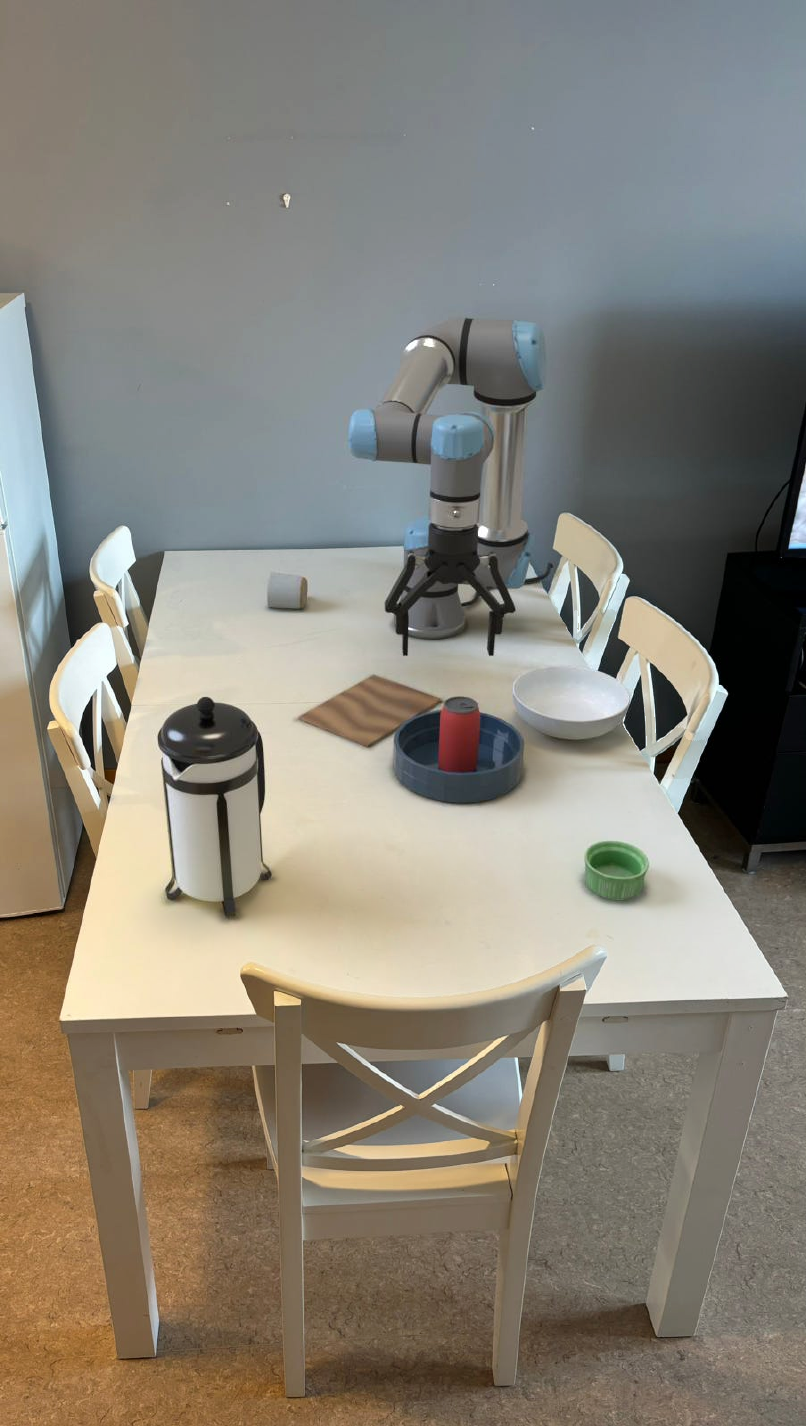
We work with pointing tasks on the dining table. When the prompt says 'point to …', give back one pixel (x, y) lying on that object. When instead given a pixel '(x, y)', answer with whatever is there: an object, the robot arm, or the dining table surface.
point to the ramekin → (615, 869)
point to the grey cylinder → (286, 591)
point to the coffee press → (213, 801)
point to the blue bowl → (488, 781)
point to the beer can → (459, 735)
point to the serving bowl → (570, 701)
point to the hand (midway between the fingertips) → (447, 652)
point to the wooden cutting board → (369, 710)
